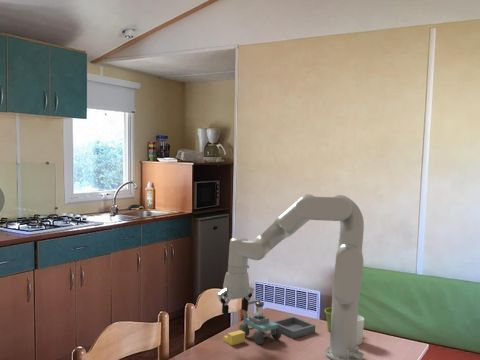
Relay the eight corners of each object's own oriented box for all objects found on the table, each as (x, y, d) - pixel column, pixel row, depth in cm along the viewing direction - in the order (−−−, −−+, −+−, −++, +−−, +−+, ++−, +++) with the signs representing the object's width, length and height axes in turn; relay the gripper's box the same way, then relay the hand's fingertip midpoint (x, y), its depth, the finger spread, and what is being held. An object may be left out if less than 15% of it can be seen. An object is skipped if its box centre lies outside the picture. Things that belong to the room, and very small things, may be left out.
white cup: (339, 339, 183) (340, 315, 183) (354, 337, 187) (355, 313, 186) (351, 347, 176) (352, 322, 176) (367, 344, 179) (368, 319, 179)
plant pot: (319, 330, 193) (320, 310, 192) (331, 325, 199) (332, 305, 199) (338, 337, 186) (339, 316, 186) (350, 331, 193) (351, 311, 192)
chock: (244, 342, 178) (245, 332, 177) (231, 346, 174) (232, 335, 173) (236, 337, 182) (236, 328, 182) (223, 341, 178) (223, 331, 178)
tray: (315, 332, 190) (315, 325, 190) (293, 338, 182) (293, 331, 182) (293, 322, 200) (293, 316, 200) (271, 328, 192) (271, 321, 192)
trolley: (281, 340, 180) (282, 307, 179) (261, 346, 174) (262, 311, 173) (258, 329, 191) (259, 298, 190) (239, 334, 185) (240, 302, 184)
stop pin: (265, 321, 182) (265, 303, 182) (258, 323, 180) (259, 304, 180) (259, 318, 185) (260, 300, 185) (252, 320, 183) (253, 302, 183)
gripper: (248, 265, 184) (246, 306, 185) (214, 269, 173) (211, 313, 174) (260, 269, 178) (257, 311, 179) (225, 274, 168) (222, 319, 168)
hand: (234, 312), depth 177 cm, fingers open, 9 cm apart
